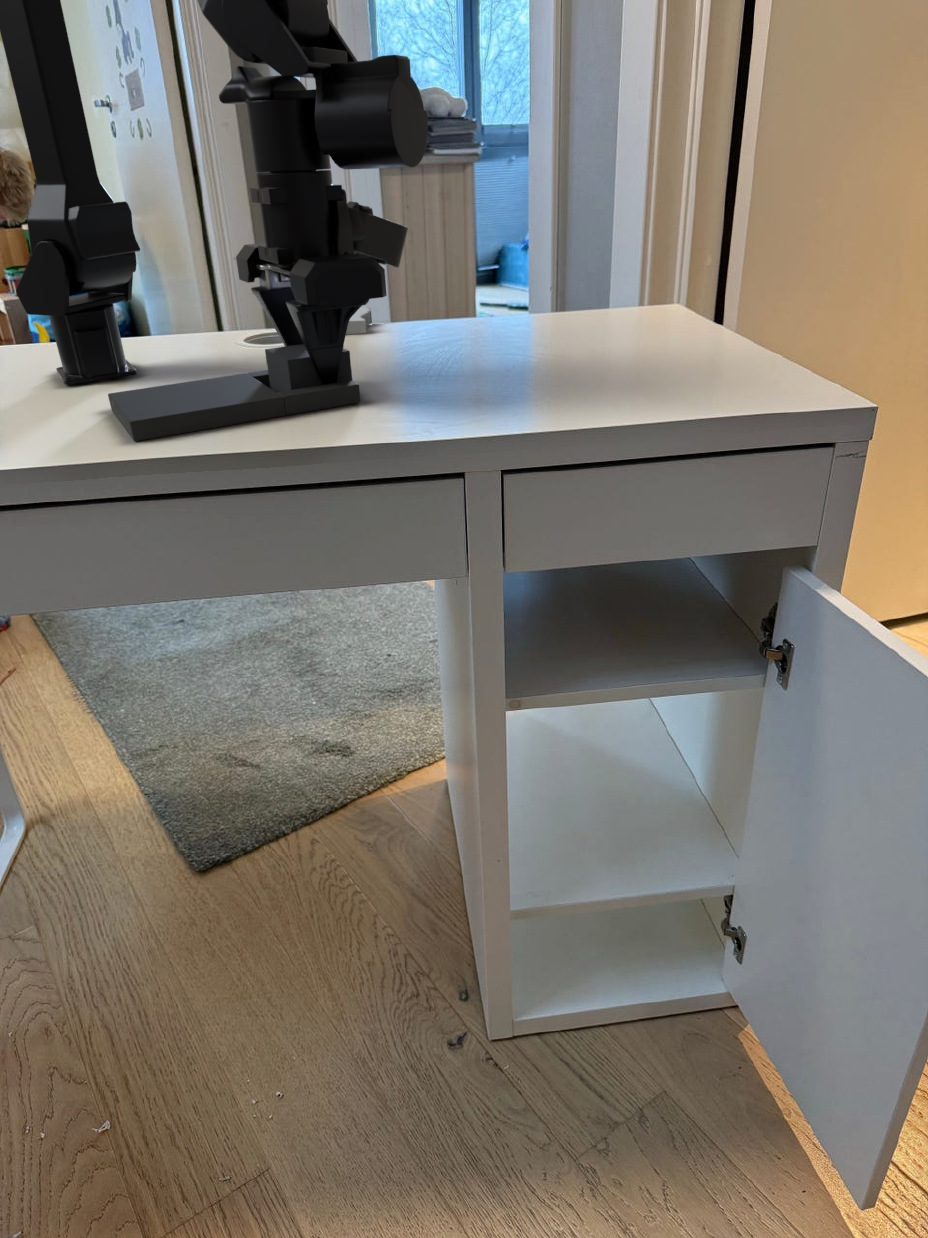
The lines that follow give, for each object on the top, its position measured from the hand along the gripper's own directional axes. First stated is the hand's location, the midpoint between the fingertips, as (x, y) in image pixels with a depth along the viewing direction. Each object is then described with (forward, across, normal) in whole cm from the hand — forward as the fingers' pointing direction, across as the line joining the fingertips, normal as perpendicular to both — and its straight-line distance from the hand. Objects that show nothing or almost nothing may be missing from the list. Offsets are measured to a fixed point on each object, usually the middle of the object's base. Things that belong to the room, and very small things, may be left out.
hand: (317, 378), depth 73 cm
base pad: (+1, 0, +7) cm, 7 cm away
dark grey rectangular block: (+1, 0, +1) cm, 1 cm away
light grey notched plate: (0, +27, -16) cm, 31 cm away
